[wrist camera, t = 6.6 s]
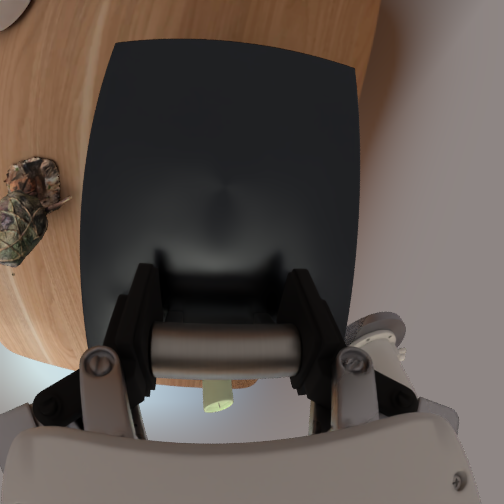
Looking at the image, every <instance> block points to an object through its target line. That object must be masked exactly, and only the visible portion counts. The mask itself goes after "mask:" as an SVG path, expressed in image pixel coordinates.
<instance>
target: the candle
mask: <svg viewBox="0 0 504 504" xmlns="http://www.w3.org/2000/svg"><path fill="white" fill-rule="evenodd" d="M232 404H233V393H232V384H231V380H203V405H204V411H205V412H208V413H211V412H217V411H221V410H224V409H226V408H228V407H229V406H231V405H232Z"/></svg>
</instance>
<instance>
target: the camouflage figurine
mask: <svg viewBox="0 0 504 504" xmlns="http://www.w3.org/2000/svg"><path fill="white" fill-rule="evenodd" d="M57 169H58V168H57V167H56V166H55V163H53V162H52V161H51V160H50V161H49V159H48V161H47V159H46V161H45V159H41V158H40V159H39V158H38V157H37V158H34V157H32V158H31V159H29V160H24V163H21V162H18V164H17V166H16V165H14V166H12V165H11V166H10V169H9V170H8V172H9V173H8V174H6V175H7V179H6V180H5V181H4V182H7V183H8V184H7V186H8V190H9V192H8V194H7V195H6V196H5V197H4V198H3V199H1V200H0V264H2V265H7V266H11V267H17V266H18V265H20V264H21V263H22V261H23V260H24V259H25V257H26V256H27V255H28V254H29V253H30V252H31V251H32V250H33V249H34V247H35V246H36V245H37V244H38V243H39V241H40V240H41V239H42V238H43V236H44V234H45V232H46V230H47V227H48V220H47V217H46V215H47V214H49V212H50V213H51V211H54V210H56V209H57V210H58V208H60V207H61V206H62V205H63V204H64V203H65V202H67V201H68V200H70V199H72V196H68V197H66V198H64V199H63V200H62V201H60V200H58V199H59V198H60V196H59V194H60V188H59V187H58V185H59V184H60V183H59V179H58V178H59V177H57V176H59V174H58V173H59V171H57ZM59 201H60V202H59ZM39 239H40V240H39ZM14 274H15V273H12V276H14Z"/></svg>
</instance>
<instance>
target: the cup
mask: <svg viewBox="0 0 504 504" xmlns="http://www.w3.org/2000/svg"><path fill="white" fill-rule="evenodd" d="M29 2H30V0H0V31H2V30H4V29H6V28H8V27H9V26H10V25H11V24H13V23H14V22H15V21H16V20H17V19H18V18H19V16H20V15H21V14H22V13H23V12H24V10H25V9H26V7H27V6H28V4H29Z"/></svg>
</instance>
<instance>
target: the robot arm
mask: <svg viewBox="0 0 504 504" xmlns="http://www.w3.org/2000/svg"><path fill="white" fill-rule="evenodd" d="M154 322H163V309H162V300H161V291H160V282H159V271H158V267H154V265H153V264H152V263H139V265H138V267H137V270H136V273H135V276H134V279H133V282H132V285H131V288H130V291H129V294H128V295H125V294H120V295H119V296H118V299H117V301H116V304H115V307H114V310H113V313H112V316H111V319H110V322H109V325H108V329H107V332H106V335H105V338H104V342H103V345H102V346H94V347H91V348H90V349H88V350H86V351H85V352H84V353H83V355H82V357H81V359H80V364H79V367H80V369H78V370H77V371H75V372H73V373H71V374H70V375H68V376H66V377H65V378H63V379H61V380H60V381H58V382H56V383H55V384H53V385H51V386H50V387H48V388H46V389H45V390H43V391H41V392H40V393H39V394H37V396H36V397H35V399H34V401H33V403H32V404H28V403H25V404H23V405H21V406H19V407H16V408H14V409H12V410H10V411H8V412H5V413H3V414H0V467H1V469H2V472H3V474H4V475H3V483H2V497H1V498H2V499H1V501H2V502H1V504H481V500H480V496H479V492H478V489H477V485H476V482H475V479H474V476H473V473H472V470H471V467H470V464H469V461H468V458H467V456H466V454H465V451H464V449H463V446H462V444H461V442H460V440H459V438H458V436H457V434H458V426H459V417H458V415H457V413H456V412H455V410H453V409H452V408H449V407H447V406H444V405H441V404H438V403H436V402H433V401H430V400H428V399H425V398H423V397H419V398H418V396H417V394H416V392H415V390H414V388H413V386H412V384H411V382H410V380H409V378H408V376H407V374H406V372H405V370H404V368H403V366H402V364H401V361H404V360H405V353H406V348H400V349H397V347H396V346H395V343H396V337H395V335H394V333H393V332H392V331H390V330H377V331H373V332H370V333H368V334H366V335H364V336H362V337H360V338H358V339H357V340H355V341H354V342H353V343H351V344H350V345H349V346H348V347H347V346H346V344H345V342H344V339H343V337H342V335H341V333H340V330H339V328H338V326H337V324H336V322H335V319H334V317H333V315H332V313H331V311H330V308H329V306H328V304H327V302H326V301H325V300H324V299H321V297H320V295H319V293H318V291H317V288H316V286H315V284H314V282H313V280H312V278H311V275H310V273H309V271H308V270H307V269H293V270H292V272H289V273H288V275H287V279H286V283H285V287H284V291H283V295H282V299H281V303H280V306H279V310H278V314H277V319H276V324H294V325H295V326H296V327H297V329H298V331H299V334H300V338H301V344H302V361H301V366H300V370H299V372H298V373H297V375H295V376H292V377H290V380H291V384H292V387H293V389H297V392H298V395H305V394H307V398H308V399H310V400H311V405H310V420H309V432H308V436H303V437H296V438H289V439H281V440H273V441H263V442H250V443H229V444H228V443H227V444H195V443H193V444H192V443H172V442H159V441H150V440H148V439H147V435H146V432H145V428H144V424H143V420H142V416H141V412H140V407H139V403H141V402H143V401H144V397H145V396H146V397H150V390H155V386H156V377H154V376H153V375H152V372H151V369H150V362H149V338H150V331H151V327H152V325H153V323H154Z"/></svg>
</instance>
